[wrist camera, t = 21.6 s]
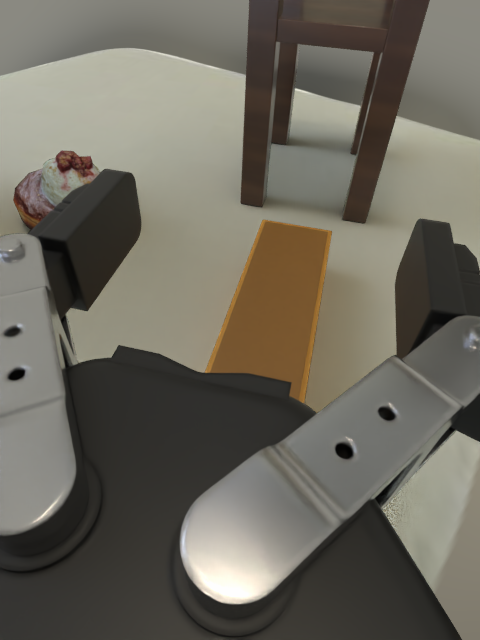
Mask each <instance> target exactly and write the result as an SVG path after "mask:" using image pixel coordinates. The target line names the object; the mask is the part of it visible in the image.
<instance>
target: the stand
mask: <svg viewBox="0 0 480 640" xmlns="http://www.w3.org/2000/svg"><path fill="white" fill-rule="evenodd" d="M429 1H430V0H249V20H248V43H247V66H246V90H245V113H244V136H243V160H242V183H241V204H247V205H253V206H259V207H262V206H263V203H264V201H265V198H266V194H267V183H268V171H269V160H270V149H271V143H277V144H285V145H286V144H287V141H288V138H289V132H290V124H291V116H292V107H293V99H294V91H295V82H296V73H297V65H298V57H299V49H300V44H302V45H312V46H322V47H331V48H341V49H350V50H361V51H369V52H373V55H372V59H371V64H370V68H369V73H368V77H367V81H366V86H365V90H364V95H363V99H362V103H361V108H360V112H359V116H358V121H357V125H356V129H355V134H354V138H353V143H352V148H351V154H357V155H356V159H355V163H354V167H353V172H352V176H351V180H350V184H349V188H348V192H347V197H346V201H345V205H344V210H343V218H342V219H343V220H348V221H354V222H360V223H365V222H366V219H367V216H368V212H369V209H370V205H371V202H372V199H373V195H374V192H375V188H376V185H377V181H378V178H379V174H380V171H381V167H382V164H383V160H384V157H385V154H386V150H387V147H388V143H389V140H390V136H391V133H392V129H393V126H394V122H395V119H396V116H397V112H398V109H399V105H400V102H401V98H402V95H403V91H404V88H405V84H406V81H407V77H408V74H409V70H410V67H411V63H412V60H413V57H414V53H415V50H416V46H417V43H418V39H419V36H420V32H421V29H422V26H423V22H424V19H425V15H426V12H427V8H428V4H429Z"/></svg>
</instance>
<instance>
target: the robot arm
mask: <svg viewBox="0 0 480 640" xmlns="http://www.w3.org/2000/svg"><path fill="white" fill-rule="evenodd" d="M140 231H141V216H140V209H139V203H138V196H137V189H136V183H135V178H134V176H133V174H132V173H129V172H123V171H116V170H110V169H104V170H103V171H102V172H101V173H100V174H99V175H98V176H97V177H96V178H95V179H94V180H93V181H92V182H91V183H90V184H89V183H87V184H85V185H83V186H81V187H79V188H77V189H74V190H72V191H71V192H70V193H69V194H68V195H67V196H66V197H65V198H64V199H63V200H62V203H59V204H58V205H57V206H56V207H55V208H54V211H52V210H51V211H50V212H49V213H48V214H47V215H46V216H45V217H44V218H43V219H42V220H41V221H40V222H39V223H38V224H37V225H36V226H35V227H34V228H33V229H32V230H31V231H30V232H29V233H28V234H19V233H18V234H9V235H4V236H1V237H0V640H462V639H461V637H460V635H459V634H458V632H457V630H456V629H455V627H454V625H453V624H452V622H451V620H450V619H449V617H448V616H447V614H446V613H445V611H444V609H443V608H442V606H441V604H440V603H439V601H438V599H437V598H436V596H435V595H434V593H433V591H432V590H431V588H430V587H429V585H428V583H427V582H426V580H425V578H424V577H423V575H422V574H421V572H420V570H419V569H418V567H417V566H416V564H415V562H414V561H413V559H412V557H411V556H410V554H409V553H408V551H407V549H406V548H405V546H404V545H403V543H402V541H401V540H400V538H399V537H398V535H397V533H396V532H395V530H394V528H393V527H392V525H391V524H390V522H389V520H388V519H387V517H386V516H385V514H384V512H383V511H382V509H383V508H384V507H385V506H386V505H387V504H388V503H389V502H390V501H391V500H392V499H393V498H394V497H395V496H396V494H397V493H398V492H399V491H400V490H401V489H402V488H403V486H404V485H405V484H406V483H407V482H408V481H409V480H410V478H411V477H412V476H413V475H414V474H415V473H416V472H417V471H418V470H419V469H420V468H421V467H422V466H423V465H424V464H425V463H426V462H427V461H428V460H429V459H430V458H431V456H432V455H433V454H434V453H435V452H436V451H437V450H438V449H439V448H440V447H441V446H442V445H443V444H444V443H445V442H446V441H447V440H448V439H449V438H450V437H451V436H452V435H453V434H454V433H455V432H456V431H459V432H461V433H463V434H465V435H467V436H469V437H471V438H473V439H475V440H477V441H479V442H480V275H479V273H480V270H479V266H478V262H477V258H476V257H475V256H474V255H473V254H472V253H471V251H470V250H469V249H468V248H467V247H466V246H465V245H461V244H455V243H453V238H452V232H451V227H450V224H449V223H446V222H439V221H433V220H426V219H419V220H418V221H417V222H416V224H415V227H414V229H413V232H412V234H411V237H410V239H409V242H408V245H407V247H406V250H405V252H404V255H403V257H402V260H401V263H400V265H399V268H398V272H397V276H396V282H395V304H396V342H397V355H394V356H391V357H390V358H388V359H387V360H385V361H384V362H383V363H382V364H380V365H379V366H378V367H376V368H375V369H374V370H373V371H371V372H370V373H369V374H367V375H366V376H365V377H364V378H362V379H361V380H360V381H358V382H357V383H356V384H355V385H353V386H352V387H351V388H349V389H348V390H347V391H346V392H344V393H343V394H342V395H340V396H339V397H338V398H337V399H335V400H334V401H333V402H331V403H330V404H329V405H328V406H326V407H325V408H324V409H322V410H321V411H320V412H319V413H316V412H315V411H313V410H312V409H311V408H310V407H308V406H307V405H305V404H304V403H302V402H301V401H299V400H297V399H295V398H293V397H291V396H289V394H290V389H291V384H292V382H288V381H283V380H278V379H274V378H269V377H264V376H260V375H255V374H250V373H201V372H197V371H194V370H192V369H190V368H188V367H186V366H184V365H182V364H179V363H177V362H175V361H173V360H171V359H169V358H167V357H165V356H163V355H161V354H157V353H153V352H148V351H143V350H139V349H134V348H129V347H125V346H120V345H118V347H117V349H116V351H115V352H114V354H113V356H112V357H111V358H101V359H94V360H89V361H85V362H81V363H78V360H77V356H76V351H75V347H74V343H73V338H72V334H71V329H70V325H69V321H68V318H67V315H66V313H67V312H68V310H69V309H70V308H74V309H79V310H84V311H88V310H89V308H90V307H91V305H92V304H93V303H94V301H95V300H96V298H97V297H98V295H99V294H100V293H101V291H102V290H103V288H104V287H105V285H106V284H107V283H108V281H109V280H110V278H111V277H112V275H113V274H114V273H115V271H116V270H117V268H118V267H119V266H120V264H121V263H122V261H123V260H124V258H125V257H126V256H127V254H128V253H129V251H130V250H131V248H132V247H133V246H134V244H135V243H136V241H137V240H138V238H139V235H140Z"/></svg>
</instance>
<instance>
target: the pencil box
mask: <svg viewBox="0 0 480 640" xmlns="http://www.w3.org/2000/svg"><path fill="white" fill-rule="evenodd" d="M331 235H332V231H328V230H322V229H316V228H310V227H304V226H298V225H292V224H286V223H280V222H274V221H268V220H262V223H261V226H260V228H259V231H258V233H257V236H256V239H255V241H254V244H253V247H252V249H251V252H250V255H249V257H248V260H247V263H246V265H245V268H244V270H243V273H242V276H241V278H240V281H239V284H238V286H237V289H236V292H235V294H234V297H233V299H232V302H231V305H230V307H229V310H228V313H227V315H226V318H225V321H224V323H223V326H222V329H221V331H220V334H219V336H218V339H217V342H216V344H215V347H214V350H213V352H212V355H211V358H210V360H209V363H208V365H207V368H206V371H205V373H250V374H255V375H260V376H264V377H269V378H274V379H278V380H283V381H288V382H292V384H291V389H290V394H289V396H291V397H293V398H295V399H297V400H299V401H301V402H302V403H304V401H305V395H306V389H307V383H308V377H309V370H310V364H311V358H312V352H313V346H314V340H315V333H316V327H317V321H318V315H319V309H320V303H321V296H322V290H323V284H324V278H325V272H326V266H327V260H328V253H329V247H330V241H331Z"/></svg>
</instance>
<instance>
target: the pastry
mask: <svg viewBox="0 0 480 640" xmlns="http://www.w3.org/2000/svg"><path fill="white" fill-rule="evenodd" d="M100 173H101V172H99V170H98V168H97V167H96V166H95V165H94V164H93V163H92V160H91V156H87V157H79V156H78V155H77V154H76V153H75V152H73V151H61V152H60V153H59V154H58V155H57V156H56V158H54V159H49V160H48V161H46V162H45V163H44V166H43V168H42V169H40V170H37V171H34V172H31V173H29V174H28V175H27V176H26V177H25V178H24V179H23V180H22V181H21V182H20V183H19V184H18V186H17V187H16V188H15V194H14V200H13V201H14V203H15V205H16V207H17V210H18V212H19V214H20V216H21V219H22V221H23V222H24V223H25V224H26V226H27V227H28V228H29V229H30V230H32V229H33V228H34V227H35V226H36V225H37V224H38V223H39V222H40V221H41V220H42V219H43V218H44V217H45V216H46V215H47V214H48V213H49V212H50V211H51V210H52V211H54V208H55V207H56V206H57V205H58V204H59V203H62V200H63V199H64V198H65V197H66V196H67V195H68V194H69V193H70V192H71V191H72V190H74V189H77V188H79V187H81V186H83V185H85V184H87V183H89V184H90V183H91V182H92V181H93V180H94V179H95V178H96V177H97V176H98V175H99V174H100Z"/></svg>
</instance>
